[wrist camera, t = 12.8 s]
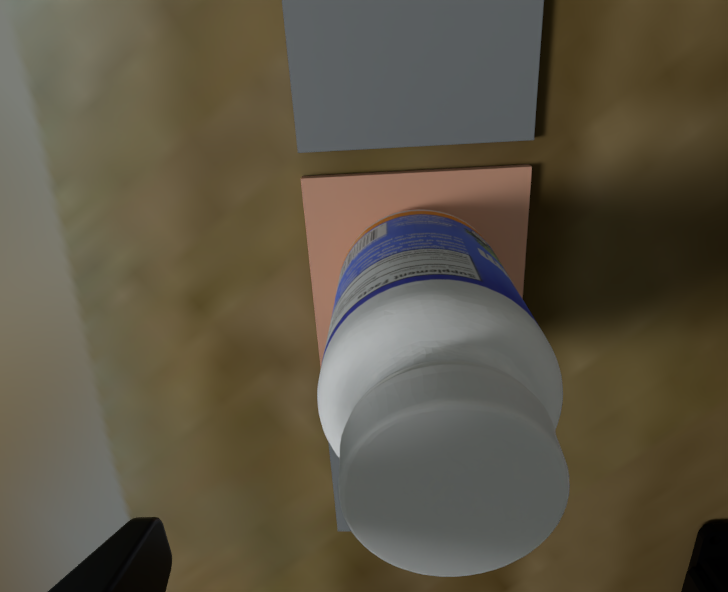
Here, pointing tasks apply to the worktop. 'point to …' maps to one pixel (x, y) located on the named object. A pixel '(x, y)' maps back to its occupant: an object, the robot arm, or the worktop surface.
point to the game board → (411, 121)
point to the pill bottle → (440, 401)
